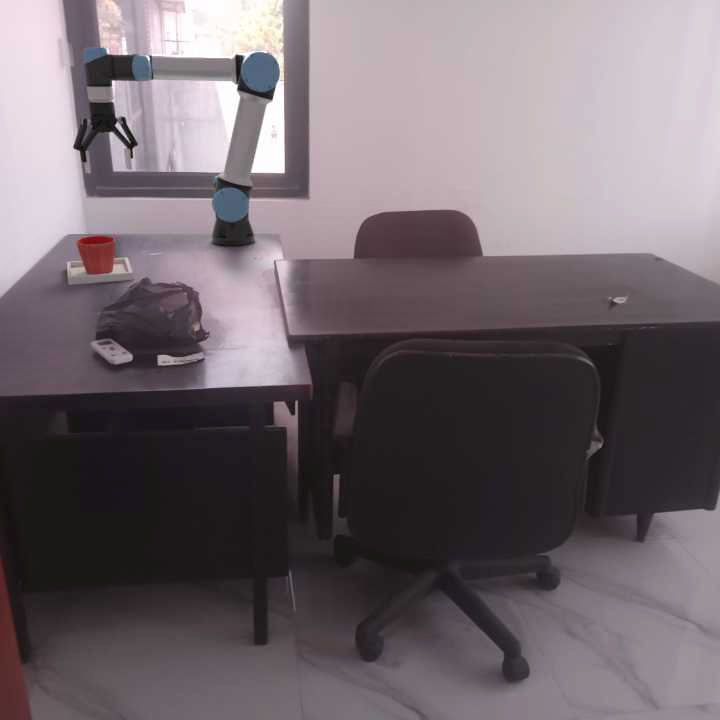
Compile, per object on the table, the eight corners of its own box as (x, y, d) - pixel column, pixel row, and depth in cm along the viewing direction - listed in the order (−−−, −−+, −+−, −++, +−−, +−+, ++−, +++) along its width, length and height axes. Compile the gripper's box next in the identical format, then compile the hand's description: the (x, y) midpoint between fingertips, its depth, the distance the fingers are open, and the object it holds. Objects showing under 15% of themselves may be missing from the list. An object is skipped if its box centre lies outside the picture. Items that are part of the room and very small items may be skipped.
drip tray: (128, 264, 236) (127, 257, 235) (133, 279, 221) (132, 272, 220) (67, 268, 230) (66, 261, 229) (68, 285, 215) (67, 277, 214)
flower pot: (111, 276, 220) (108, 244, 216) (75, 275, 220) (70, 243, 217) (123, 267, 230) (119, 236, 226) (87, 266, 230) (83, 235, 226)
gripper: (133, 99, 241) (140, 166, 249) (56, 101, 226) (65, 172, 234) (144, 100, 236) (150, 169, 244) (65, 103, 221) (75, 175, 229)
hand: (109, 171), depth 239 cm, fingers open, 13 cm apart
